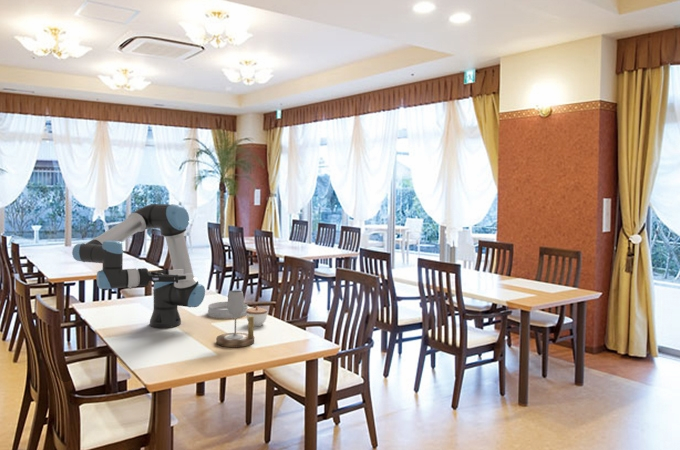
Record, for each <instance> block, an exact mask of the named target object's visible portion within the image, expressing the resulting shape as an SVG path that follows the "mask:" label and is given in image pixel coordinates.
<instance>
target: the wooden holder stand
mask: <svg viewBox="0 0 680 450" xmlns="http://www.w3.org/2000/svg"><path fill="white" fill-rule="evenodd" d="M247 322H248V323H247V324H248V326H247V327H248V328H247V332H236V333H237V335H242V336H243V338H241V339H229V338H227V336H229V335H233V334H234V332H228V333H223V334H219V335H218V336H216V342H215V343H216V345H217V346H221V347H226V348H241V347H247V346H250V345H252V344H254V343H255V336H254V328H255V326H254V316H248V320H247Z"/></svg>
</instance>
